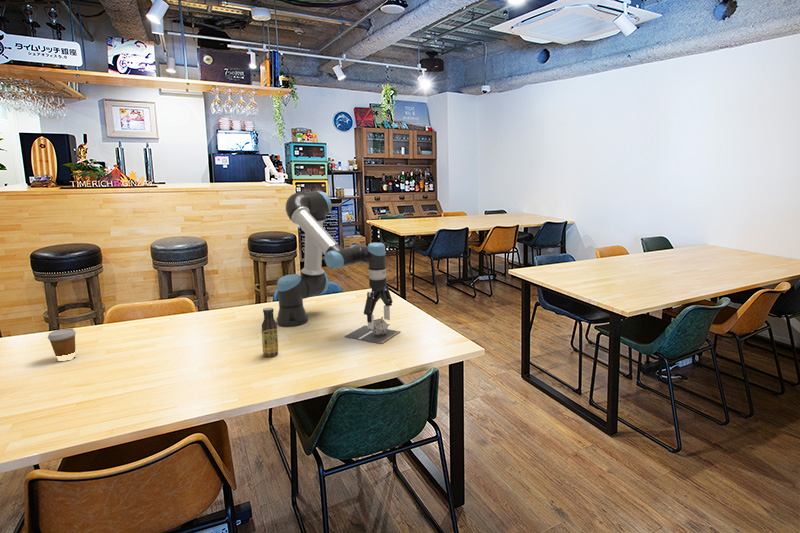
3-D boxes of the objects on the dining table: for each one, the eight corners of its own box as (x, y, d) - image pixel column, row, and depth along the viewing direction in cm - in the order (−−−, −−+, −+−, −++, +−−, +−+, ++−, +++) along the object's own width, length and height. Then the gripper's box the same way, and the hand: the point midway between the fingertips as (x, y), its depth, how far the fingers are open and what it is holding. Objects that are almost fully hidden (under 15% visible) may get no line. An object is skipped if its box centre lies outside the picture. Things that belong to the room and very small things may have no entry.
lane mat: (344, 337, 206) (344, 336, 206) (364, 326, 219) (364, 325, 219) (382, 344, 196) (382, 343, 196) (400, 332, 210) (400, 331, 209)
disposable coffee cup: (85, 355, 194) (80, 329, 192) (63, 364, 185) (57, 336, 183) (69, 353, 197) (64, 327, 195) (47, 362, 188) (41, 334, 186)
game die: (383, 343, 205) (389, 331, 198) (365, 338, 205) (370, 324, 198) (387, 328, 212) (393, 315, 205) (369, 323, 211) (375, 309, 204)
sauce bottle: (264, 359, 184) (260, 312, 180) (261, 353, 190) (257, 308, 186) (281, 355, 187) (276, 309, 183) (277, 350, 193) (273, 305, 189)
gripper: (369, 285, 188) (370, 334, 192) (399, 272, 209) (400, 316, 213) (354, 283, 191) (356, 331, 196) (385, 271, 213) (386, 314, 217)
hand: (379, 324), depth 205 cm, fingers open, 13 cm apart
